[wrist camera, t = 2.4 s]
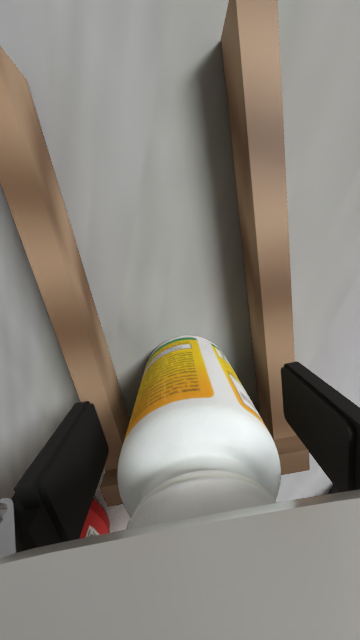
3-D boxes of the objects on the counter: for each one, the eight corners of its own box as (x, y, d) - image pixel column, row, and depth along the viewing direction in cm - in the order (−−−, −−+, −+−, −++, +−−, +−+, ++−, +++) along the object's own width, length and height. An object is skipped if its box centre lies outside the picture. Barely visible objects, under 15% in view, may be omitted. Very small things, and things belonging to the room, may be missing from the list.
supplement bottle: (240, 348, 13) (414, 556, 4) (208, 416, 14) (277, 701, 5) (160, 320, 12) (125, 485, 3) (134, 393, 13) (48, 673, 4)
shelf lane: (-6, 86, 9) (-88, 3, 6) (253, 32, 9) (292, -80, 6) (120, 459, 15) (107, 506, 12) (282, 429, 15) (309, 469, 12)
